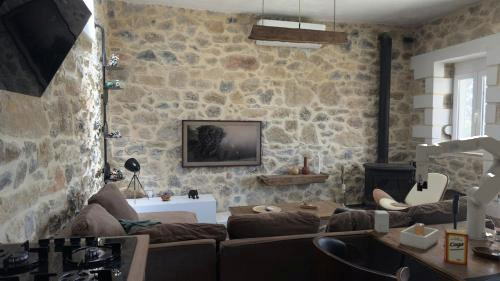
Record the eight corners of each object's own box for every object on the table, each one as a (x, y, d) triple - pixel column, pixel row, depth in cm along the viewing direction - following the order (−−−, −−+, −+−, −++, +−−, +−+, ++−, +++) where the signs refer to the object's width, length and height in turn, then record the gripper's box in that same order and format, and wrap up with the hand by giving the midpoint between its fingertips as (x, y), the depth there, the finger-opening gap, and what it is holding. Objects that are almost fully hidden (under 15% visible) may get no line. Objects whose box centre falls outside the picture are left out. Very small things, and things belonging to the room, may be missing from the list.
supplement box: (385, 229, 230) (385, 210, 229) (389, 232, 222) (389, 213, 222) (374, 229, 231) (374, 210, 230) (377, 232, 223) (377, 213, 223)
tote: (414, 236, 216) (414, 225, 216) (438, 241, 206) (438, 230, 205) (400, 243, 202) (400, 231, 202) (425, 249, 192) (425, 237, 192)
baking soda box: (465, 260, 177) (465, 230, 176) (467, 265, 171) (468, 233, 170) (444, 257, 180) (444, 228, 180) (445, 262, 174) (446, 231, 174)
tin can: (425, 240, 204) (425, 224, 203) (422, 242, 201) (422, 225, 200) (416, 238, 208) (417, 222, 207) (413, 240, 204) (413, 224, 204)
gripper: (420, 162, 229) (420, 187, 230) (411, 164, 217) (411, 191, 217) (433, 162, 224) (432, 188, 224) (424, 165, 211) (424, 192, 212)
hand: (422, 190), depth 221 cm, fingers open, 9 cm apart
